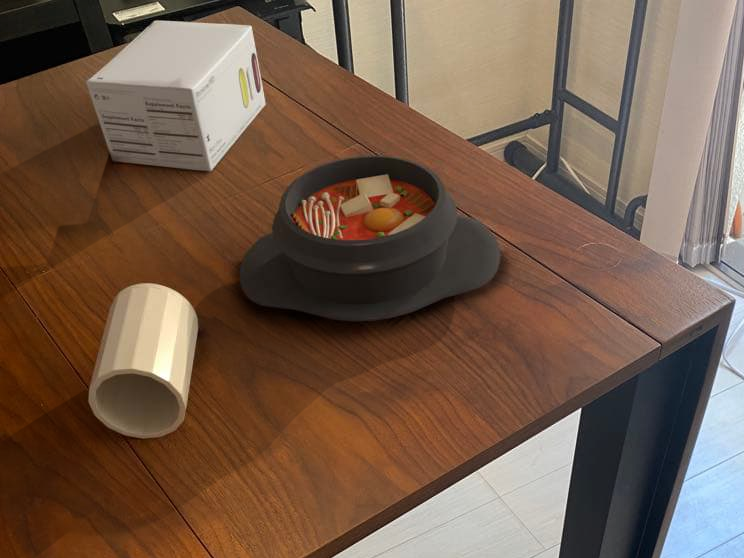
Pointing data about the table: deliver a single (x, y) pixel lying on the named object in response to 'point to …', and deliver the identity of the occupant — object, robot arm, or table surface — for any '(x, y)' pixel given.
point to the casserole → (367, 243)
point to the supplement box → (179, 94)
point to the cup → (145, 362)
